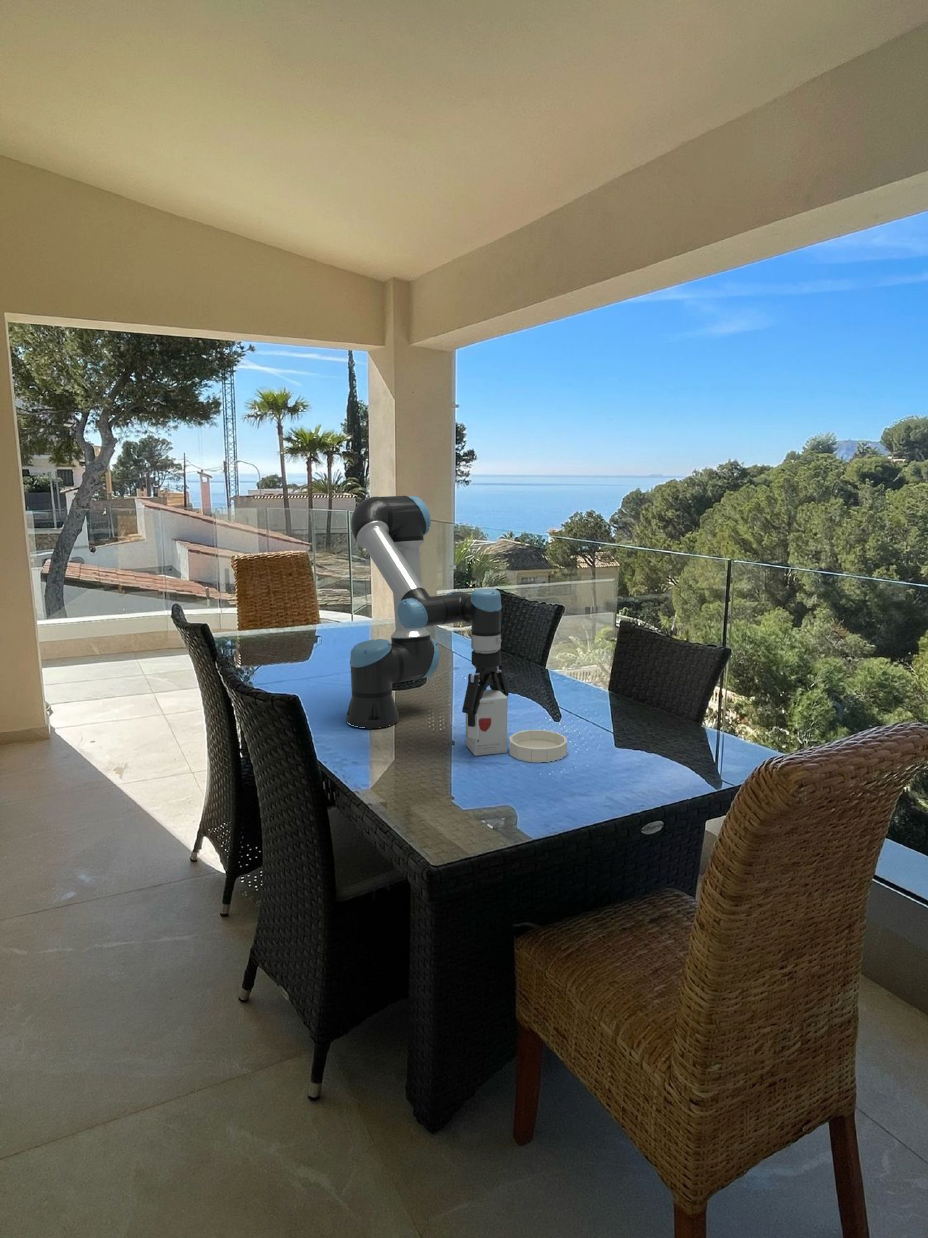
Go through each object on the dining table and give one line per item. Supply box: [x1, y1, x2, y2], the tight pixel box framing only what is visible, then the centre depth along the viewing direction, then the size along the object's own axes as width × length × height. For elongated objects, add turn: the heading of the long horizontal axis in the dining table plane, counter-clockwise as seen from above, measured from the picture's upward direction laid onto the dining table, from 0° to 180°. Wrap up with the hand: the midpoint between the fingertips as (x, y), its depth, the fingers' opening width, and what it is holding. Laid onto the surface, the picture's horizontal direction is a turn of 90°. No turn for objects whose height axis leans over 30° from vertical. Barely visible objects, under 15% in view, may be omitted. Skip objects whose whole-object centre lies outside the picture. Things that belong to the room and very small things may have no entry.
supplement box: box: [464, 688, 509, 757], centre depth 200 cm, size 9×9×15 cm
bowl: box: [508, 729, 568, 763], centre depth 198 cm, size 15×15×4 cm
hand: (486, 731), depth 200 cm, fingers closed on supplement box, 12 cm apart
